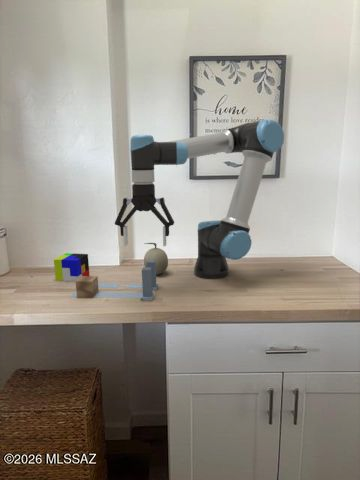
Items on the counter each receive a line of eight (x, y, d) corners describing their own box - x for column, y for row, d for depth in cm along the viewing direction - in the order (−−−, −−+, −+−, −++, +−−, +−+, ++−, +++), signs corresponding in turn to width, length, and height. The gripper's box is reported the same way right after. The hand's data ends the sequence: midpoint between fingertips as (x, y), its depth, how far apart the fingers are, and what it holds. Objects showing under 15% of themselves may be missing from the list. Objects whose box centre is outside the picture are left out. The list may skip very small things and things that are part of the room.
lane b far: (120, 285, 139) (120, 283, 138) (117, 290, 134) (117, 287, 134) (83, 285, 140) (83, 283, 140) (79, 289, 135) (78, 287, 135)
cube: (98, 291, 130) (97, 276, 129) (93, 297, 124) (92, 281, 123) (82, 291, 131) (81, 275, 129) (76, 297, 125) (75, 281, 124)
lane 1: (154, 295, 128) (153, 266, 126) (152, 300, 123) (151, 270, 121) (74, 294, 131) (72, 265, 128) (69, 299, 126) (66, 270, 123)
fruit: (168, 269, 159) (167, 237, 156) (168, 277, 148) (167, 243, 145) (145, 269, 159) (144, 237, 155) (143, 278, 148) (142, 243, 144)
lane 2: (158, 286, 137) (157, 259, 135) (156, 290, 133) (155, 263, 130) (127, 285, 138) (126, 259, 136) (125, 290, 134) (123, 262, 131)
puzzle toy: (78, 284, 142) (76, 260, 139) (56, 283, 144) (53, 259, 141) (89, 276, 151) (87, 254, 149) (68, 275, 153) (66, 253, 151)
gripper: (181, 182, 120) (181, 243, 124) (109, 182, 122) (112, 242, 126) (179, 183, 112) (180, 248, 117) (103, 184, 114) (107, 247, 119)
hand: (145, 245), depth 122 cm, fingers open, 13 cm apart
